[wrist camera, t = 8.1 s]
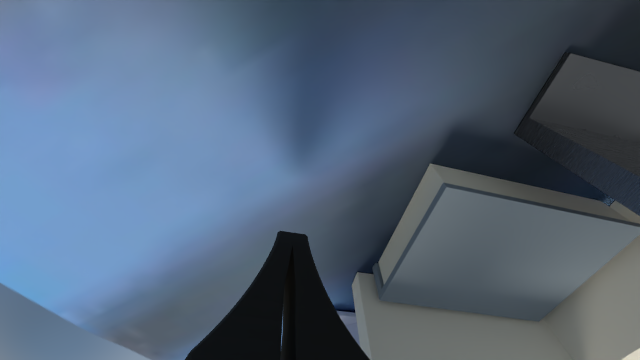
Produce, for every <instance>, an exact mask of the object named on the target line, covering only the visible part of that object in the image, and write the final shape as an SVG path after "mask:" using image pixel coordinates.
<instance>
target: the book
mask: <svg viewBox="0 0 640 360" xmlns="http://www.w3.org/2000/svg"><path fill="white" fill-rule="evenodd" d="M639 235H640V224H639V223H634V222H631V221H629V220H628V219H627V218H625V217H624V216H622V215H621V214H619V213H618V212H616V211H615V210H613V209H612V208H610V207H609V206H608V205H606V204H605V203H603V202H602V201H598V200H594V199H589V198H585V197H580V196H576V195H571V194H567V193H562V192H558V191H553V190H548V189H544V188H539V187H535V186H530V185H526V184H521V183H517V182H512V181H508V180H503V179H498V178H494V177H489V176H485V175H480V174H476V173H471V172H467V171H462V170H458V169H453V168H448V167H444V166H439V165H435V164H430V165H429V167H428V168H427V170H426V172H425V174H424V176H423V178H422V180H421V182H420V184H419V186H418V188H417V189H416V191H415V193H414V195H413V197H412V199H411V201H410V203H409V205H408V207H407V208H406V210H405V212H404V214H403V216H402V218H401V220H400V222H399V224H398V226H397V228H396V229H395V231H394V233H393V235H392V237H391V239H390V241H389V243H388V245H387V247H386V248H385V250H384V252H383V254H382V256H381V258H380V260H379V262H378V263H375V264H374V266H373V268H372V269H373V274H374V278H375V282H376V287H377V291H378V295H379V300H380V301H387V302H394V303H402V304H409V305H417V306H424V307H432V308H439V309H447V310H454V311H462V312H469V313H477V314H484V315H492V316H499V317H507V318H514V319H522V320H529V321H537V322H539V321H540V320H541V319H543V318H544V317H545V316H546V315H547V314H548V313H550V312H551V311H552V310H553V309H554V308H555V307H557V306H558V305H559V304H560V303H561V302H562V301H563V300H565V299H566V298H567V297H568V296H569V295H570V294H572V293H573V292H574V291H575V290H576V289H577V288H579V287H580V286H581V285H582V284H583V283H584V282H585V281H587V280H588V279H589V278H590V277H591V276H592V275H594V274H595V273H596V272H597V271H598V270H599V269H601V268H602V267H603V266H604V265H605V264H606V263H607V262H609V261H610V260H611V259H612V258H613V257H614V256H616V255H617V254H618V253H619V252H620V251H621V250H623V249H624V248H625V247H626V246H627V245H628V244H629V243H631V242H632V241H633V240H634V239H635V238H636V237H638V236H639Z"/></svg>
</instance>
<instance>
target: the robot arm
mask: <svg viewBox="0 0 640 360" xmlns="http://www.w3.org/2000/svg"><path fill="white" fill-rule="evenodd" d="M282 316H283V334H282V345H281V333H282ZM185 360H370V359H369V358H368V356H367V355H366V354H365V353H364V351H363V350H362V349H361V347H360V341H359V334H358V327H357V320H356V313H353V312H343V311H336V310H335V308H334V306H333V304H332V302H331V300H330V298H329V296H328V294H327V292H326V290H325V288H324V286H323V284H322V281H321V279H320V277H319V274H318V271H317V269H316V266H315V263H314V260H313V257H312V254H311V251H310V247H309V243H308V237H307V236H306V235H305V234H298V233H291V232H284V231H279V232H278V233H277V238H276V241H275V243H274V246H273V248H272V250H271V252H270V254H269V256H268V258H267V260H266V262H265V263H264V265H263V267H262V268H261V270H260V272H259V273H258V275H257V276H256V278H255V279H254V281H253V282H252V284H251V285H250V287H249V288H248V289H247V291H246V292H245V293H244V295H243V296H242V297H241V299H240V300H239V301H238V302H237V303H236V305H235V306H234V307H233V308H232V310H231V311H230V312H229V313H228V314H227V315H226V316H225V317H224V318H223V320H222V321H221V322H220V323H219V324H218V325H217V326H216V327H215V328H214V329H213V330H212V331H211V332H210V333H209V334H208V335H207V336H206V337H205V338H204V339H203V340H202V341H201V342H200V343H199V344H198V345H197V346H196V347H194V348H193V349H192V350H191V351H190V353H189V354H188V356H187V357H186V359H185Z"/></svg>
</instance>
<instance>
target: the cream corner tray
mask: <svg viewBox="0 0 640 360" xmlns="http://www.w3.org/2000/svg"><path fill="white" fill-rule="evenodd" d="M609 207H610V208H612V209H613V210H615V211H616V212H618V213H619V214H621V215H622V216H624V217H625V218H627V219H628V220H629V221H631V222H634V223H639V224H640V216H639V215H637V214H636V213H634V212H633V211H631V210H629V209H628V208H626V207H625V206H623V205H622V204H620V203H619V202H617V201H616V200H615V201H614V202H613V203H612V204H611V205H610V206H609ZM352 291H353V298H354V305H355V313H356V320H357V327H358V334H359V341H360V347H361V349H362V350H363V351H364V353H365V354H366V355H367V356H368V358H369V359H370V360H640V235H639V236H638V237H636V238H635V239H634V240H633V241H632V242H631V243H629V244H628V245H627V246H626V247H625V248H624V249H623V250H621V251H620V252H619V253H618V254H617V255H616V256H614V257H613V258H612V259H611V260H610V261H609V262H607V263H606V264H605V265H604V266H603V267H602V268H601V269H599V270H598V271H597V272H596V273H595V274H594V275H592V276H591V277H590V278H589V279H588V280H587V281H585V282H584V283H583V284H582V285H581V286H580V287H579V288H577V289H576V290H575V291H574V292H573V293H572V294H570V295H569V296H568V297H567V298H566V299H565V300H563V301H562V302H561V303H560V304H559V305H558V306H557V307H555V308H554V309H553V310H552V311H551V312H550V313H548V314H547V315H546V316H545V317H544V318H543V319H541V320H540V321H539V322H537V321H529V320H522V319H514V318H507V317H499V316H492V315H484V314H477V313H469V312H462V311H454V310H447V309H439V308H432V307H424V306H417V305H409V304H402V303H394V302H387V301H380V300H379V295H378V291H377V287H376V282H375V278H374V274H367V273H360V272H357V274H356V276H355V279H354V281H353V283H352Z"/></svg>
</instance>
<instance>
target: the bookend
mask: <svg viewBox="0 0 640 360" xmlns="http://www.w3.org/2000/svg"><path fill="white" fill-rule="evenodd" d="M514 134H515V135H517V136H518V137H520V138H521V139H523V140H524V141H526V142H527V143H529V144H530V145H532V146H533V147H535V148H536V149H538V150H539V151H541V152H542V153H544V154H546V155H547V156H549V157H550V158H552V159H553V160H555V161H556V162H558V163H559V164H561V165H562V166H564V167H565V168H567V169H568V170H570V171H571V172H573V173H575V174H576V175H578V176H579V177H581V178H582V179H584V180H585V181H587V182H588V183H590V184H591V185H593V186H594V187H596V188H597V189H599V190H600V191H602V192H604V193H605V194H607V195H608V196H610V197H611V198H613V199H614V200H616V201H617V202H619V203H620V204H622V205H623V206H625V207H626V208H628V209H629V210H631V211H633V212H634V213H636V214H637V215H639V216H640V72H639V71H635V70H631V69H628V68H624V67H620V66H616V65H613V64H609V63H605V62H601V61H597V60H594V59H590V58H586V57H582V56H579V55H575V54H571V53H566V52H565V54H564V55H563V57H562V59H561V60H560V62H559V63H558V65H557V66H556V68H555V70H554V71H553V73H552V74H551V76H550V78H549V79H548V81H547V82H546V84H545V85H544V87H543V89H542V90H541V92H540V93H539V95H538V97H537V98H536V100H535V101H534V103H533V104H532V106H531V108H530V109H529V111H528V112H527V114H526V116H525V117H524V119H523V120H522V122H521V123H520V125H519V127H518V128H517V130H516V131H515V133H514Z"/></svg>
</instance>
